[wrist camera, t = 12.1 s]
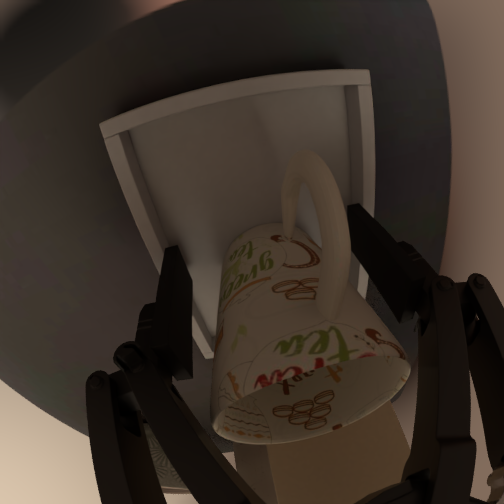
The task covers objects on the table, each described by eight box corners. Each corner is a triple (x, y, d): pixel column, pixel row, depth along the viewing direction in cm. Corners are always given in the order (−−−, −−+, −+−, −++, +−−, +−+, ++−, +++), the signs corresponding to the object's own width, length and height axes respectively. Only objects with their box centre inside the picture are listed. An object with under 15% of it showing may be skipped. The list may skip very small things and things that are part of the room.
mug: (212, 315, 20) (224, 452, 11) (184, 134, 12) (139, 253, 4) (323, 300, 20) (374, 419, 12) (346, 128, 13) (497, 218, 5)
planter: (131, 410, 31) (128, 482, 22) (209, 426, 36) (216, 490, 27) (114, 430, 36) (112, 485, 27) (179, 443, 41) (182, 495, 32)
